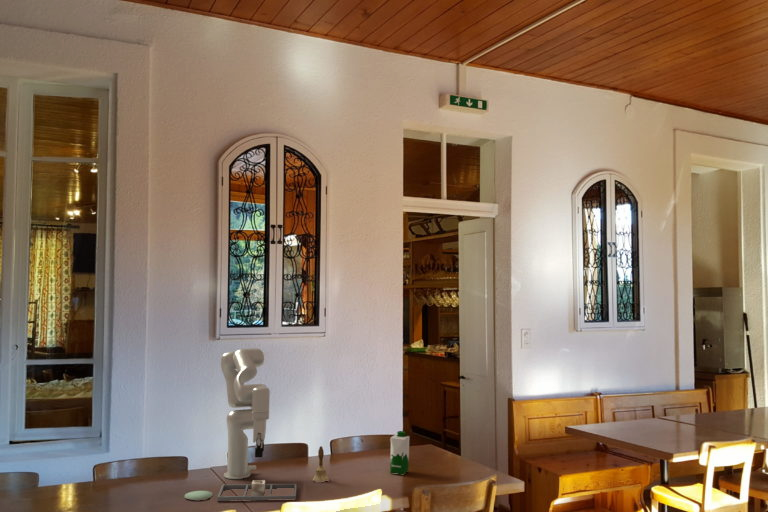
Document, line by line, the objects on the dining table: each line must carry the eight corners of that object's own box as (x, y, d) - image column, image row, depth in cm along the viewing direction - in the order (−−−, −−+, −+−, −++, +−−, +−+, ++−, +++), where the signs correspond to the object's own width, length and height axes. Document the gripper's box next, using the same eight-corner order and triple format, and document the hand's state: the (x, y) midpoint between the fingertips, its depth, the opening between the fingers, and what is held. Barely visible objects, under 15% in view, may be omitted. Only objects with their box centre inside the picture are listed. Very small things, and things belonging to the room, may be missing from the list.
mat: (204, 490, 313) (205, 489, 313) (217, 497, 304) (217, 495, 304) (179, 495, 305) (179, 494, 305) (192, 503, 296) (192, 501, 296)
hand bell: (316, 483, 328) (316, 449, 328) (309, 478, 335) (310, 445, 335) (332, 481, 331) (333, 447, 332) (325, 476, 339) (326, 443, 339)
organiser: (296, 489, 318) (296, 483, 318) (295, 501, 301) (295, 495, 301) (222, 490, 314) (222, 484, 314) (217, 503, 297) (217, 497, 297)
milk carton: (410, 471, 350) (411, 431, 351) (404, 476, 342) (405, 435, 342) (394, 469, 354) (395, 430, 354) (387, 474, 345) (388, 433, 346)
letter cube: (264, 492, 311) (265, 480, 311) (264, 496, 305) (264, 483, 305) (252, 492, 310) (252, 480, 310) (251, 496, 304) (251, 483, 305)
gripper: (253, 411, 317) (252, 449, 316) (250, 419, 299) (249, 459, 299) (270, 411, 318) (269, 449, 317) (268, 419, 300) (267, 459, 300)
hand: (259, 454), depth 308 cm, fingers open, 9 cm apart
